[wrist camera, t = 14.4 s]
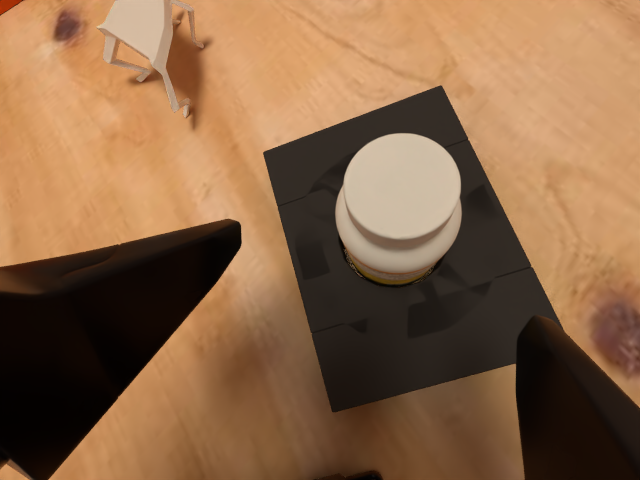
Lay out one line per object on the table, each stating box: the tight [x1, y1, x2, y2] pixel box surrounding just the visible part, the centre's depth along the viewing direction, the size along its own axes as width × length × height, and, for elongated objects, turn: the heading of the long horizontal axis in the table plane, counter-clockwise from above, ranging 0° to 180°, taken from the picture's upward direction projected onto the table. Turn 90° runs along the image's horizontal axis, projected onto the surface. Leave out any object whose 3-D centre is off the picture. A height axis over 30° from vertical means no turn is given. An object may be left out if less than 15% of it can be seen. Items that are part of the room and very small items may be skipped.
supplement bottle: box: [335, 133, 462, 287], centre depth 15 cm, size 5×5×10 cm
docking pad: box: [263, 85, 564, 412], centre depth 19 cm, size 16×12×2 cm
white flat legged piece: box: [96, 0, 204, 117], centre depth 24 cm, size 12×8×5 cm
